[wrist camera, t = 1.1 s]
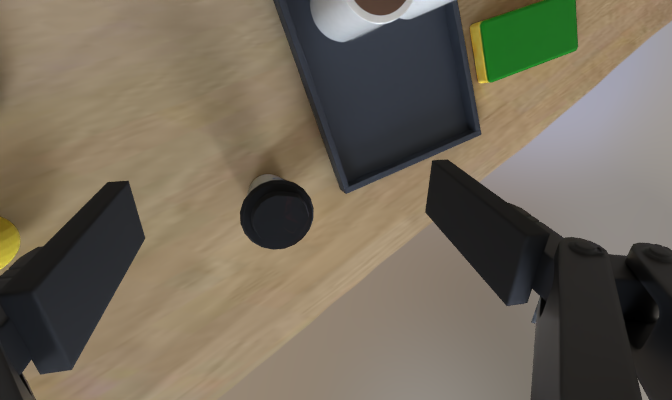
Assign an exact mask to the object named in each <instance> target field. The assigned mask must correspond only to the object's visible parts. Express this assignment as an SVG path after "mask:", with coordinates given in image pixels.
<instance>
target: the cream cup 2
mask: <svg viewBox="0 0 672 400" xmlns="http://www.w3.org/2000/svg"><path fill="white" fill-rule="evenodd" d="M453 1H455V0H413V2H412V4H411V6H410V7H409V8H408V10H407V11H406V12H405V13H404V14H403V15H402V16H401V17H400V18H401V19H414V18H416V17H419V16H421V15H423V14H426V13H428V12H430V11H432V10H435V9H437V8H439V7H442V6H444V5H446V4H449V3H451V2H453Z"/></svg>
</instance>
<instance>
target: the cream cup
mask: <svg viewBox="0 0 672 400" xmlns="http://www.w3.org/2000/svg"><path fill="white" fill-rule="evenodd" d="M412 2H413V0H310V9H311V14H312V17H313V20H314V22H315V24H316V26H317V27H318V29H319V30H320V31H321V32H322V33H323V34H324V35H325V36H327V37H328V38H330V39H332V40H335V41H338V42H349V41H352V40H354V39H357V38H359V37H361V36H363V35H365V34H367V33H369V32H371V31H373V30H376V29H378V28H380V27H382V26H384V25H386V24H388V23H390V22H392V21H395V20H396V19H398V18H400V17H401V16H402V15H403V14H404V13H405V12H406V11H407V10H408V8H409V7H410V6H411V4H412Z"/></svg>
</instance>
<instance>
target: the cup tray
mask: <svg viewBox="0 0 672 400" xmlns="http://www.w3.org/2000/svg"><path fill="white" fill-rule="evenodd" d="M273 1H274V3H275V6H276V9H277V12H278V15H279V18H280V20H281V23H282V26H283V29H284V32H285V34H286V37H287V40H288V43H289V46H290V49H291V51H292V54H293V57H294V60H295V63H296V65H297V68H298V71H299V74H300V77H301V80H302V82H303V85H304V88H305V91H306V94H307V97H308V99H309V102H310V105H311V108H312V111H313V113H314V116H315V119H316V122H317V125H318V128H319V130H320V133H321V136H322V139H323V142H324V144H325V147H326V150H327V153H328V156H329V159H330V161H331V164H332V167H333V170H334V173H335V176H336V178H337V181H338V184H339V187H340V189H341V190H342V191H343V192H344V193H346V194H347V193H349V192H351V191H354V190H356V189H358V188H361V187H363V186H365V185H367V184H370V183H372V182H374V181H377V180H379V179H381V178H383V177H386V176H388V175H390V174H393V173H395V172H397V171H399V170H402V169H404V168H406V167H408V166H411V165H413V164H415V163H418V162H420V161H422V160H424V159H427V158H429V157H431V156H434V155H436V154H438V153H440V152H443V151H445V150H447V149H450V148H452V147H454V146H456V145H459V144H461V143H463V142H466V141H468V140H470V139H472V138H475V137H477V136H479V135H481V130H480V124H479V119H478V113H477V107H476V102H475V96H474V91H473V85H472V80H471V74H470V69H469V63H468V57H467V52H466V46H465V41H464V35H463V30H462V24H461V19H460V13H459V8H458V2H457V0H455V1H453V2H451V3H449V4H446V5H444V6H442V7H439V8H437V9H435V10H432V11H430V12H428V13H426V14H423V15H421V16H419V17H416V18H414V19H401V18H398V19H396V20H395V21H392V22H390V23H388V24H386V25H384V26H382V27H380V28H378V29H376V30H373V31H371V32H369V33H367V34H365V35H363V36H361V37H359V38H357V39H354V40H352V41H349V42H338V41H335V40H332V39H330V38H328V37H327V36H325V35H324V34H323V33H322V32H321V31H320V30H319V29H318V27H317V26H316V24H315V22H314V20H313V17H312V14H311V9H310V0H273Z"/></svg>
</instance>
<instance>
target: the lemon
mask: <svg viewBox="0 0 672 400" xmlns="http://www.w3.org/2000/svg"><path fill="white" fill-rule="evenodd" d="M19 246H20V235H19V232H18V230H17V229H16V227H15V226H14V225H13V224H12V223H11V222H10V221H8V220H7V219H5V218H3V217H0V269H2V268H3V267H4V266H6V265H7V264H8V263H9V262H10V261H11V260H12V259H13V258H14V256H15V255H16V253H17V252H18V250H19Z"/></svg>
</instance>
